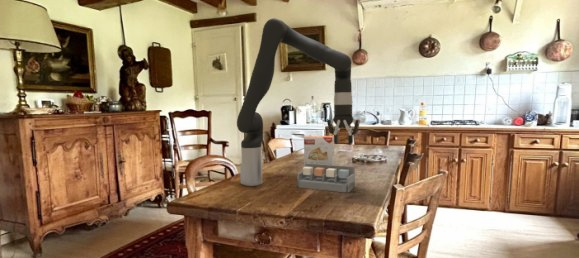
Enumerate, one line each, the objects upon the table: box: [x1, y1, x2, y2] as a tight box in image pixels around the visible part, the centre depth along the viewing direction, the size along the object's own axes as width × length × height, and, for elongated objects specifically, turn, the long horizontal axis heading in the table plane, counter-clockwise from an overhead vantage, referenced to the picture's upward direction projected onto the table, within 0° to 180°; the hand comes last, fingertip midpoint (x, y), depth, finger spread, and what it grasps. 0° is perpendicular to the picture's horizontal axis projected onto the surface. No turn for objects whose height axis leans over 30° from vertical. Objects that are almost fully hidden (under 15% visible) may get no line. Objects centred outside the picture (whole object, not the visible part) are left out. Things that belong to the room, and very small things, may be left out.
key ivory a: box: [302, 167, 313, 175], centre depth 147 cm, size 4×4×3 cm
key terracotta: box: [314, 167, 325, 176], centre depth 144 cm, size 4×4×3 cm
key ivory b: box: [326, 168, 337, 177], centre depth 142 cm, size 4×4×3 cm
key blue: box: [338, 169, 349, 178], centre depth 139 cm, size 4×4×3 cm
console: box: [296, 163, 356, 194], centre depth 143 cm, size 23×10×9 cm, turn 63°
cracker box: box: [303, 135, 335, 168], centre depth 159 cm, size 14×6×21 cm, turn 73°
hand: (343, 143), depth 138 cm, fingers open, 5 cm apart
